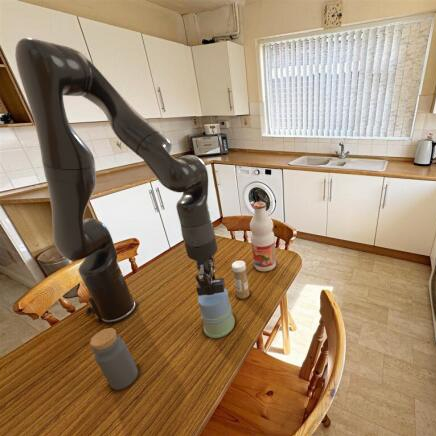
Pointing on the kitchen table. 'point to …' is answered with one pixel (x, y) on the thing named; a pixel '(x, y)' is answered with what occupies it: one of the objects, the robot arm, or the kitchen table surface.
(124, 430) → the kitchen table surface
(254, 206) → the fruit juice
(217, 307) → the stacked cups
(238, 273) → the sprinkles bottle
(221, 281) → the clip
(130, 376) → the bottle
